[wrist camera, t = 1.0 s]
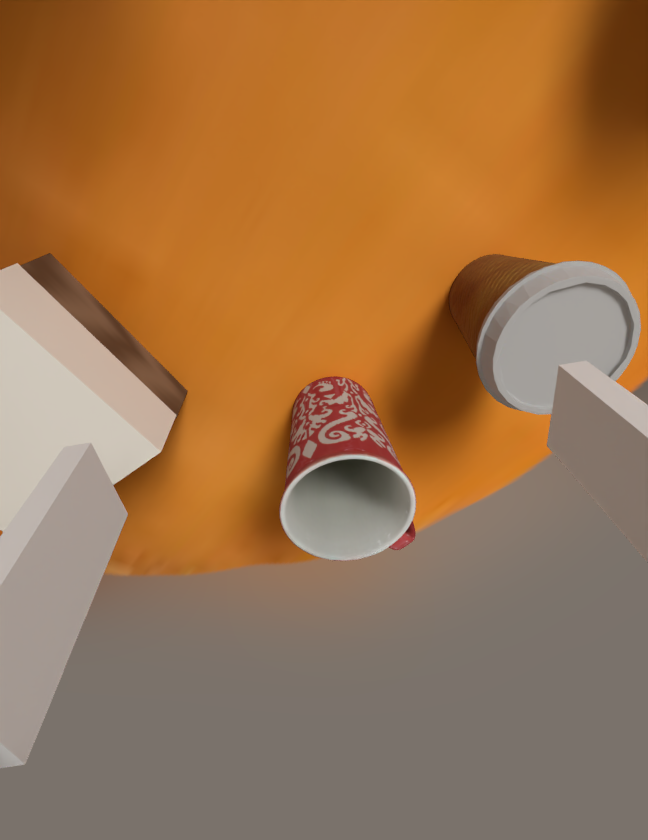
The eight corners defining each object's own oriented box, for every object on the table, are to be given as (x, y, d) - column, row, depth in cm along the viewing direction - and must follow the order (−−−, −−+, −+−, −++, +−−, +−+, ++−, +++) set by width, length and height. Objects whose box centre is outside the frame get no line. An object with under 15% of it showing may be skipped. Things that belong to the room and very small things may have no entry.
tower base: (-64, 358, 36) (-111, 386, 32) (52, 251, 33) (17, 266, 29) (78, 468, 43) (55, 503, 38) (188, 388, 39) (176, 417, 35)
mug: (260, 407, 40) (249, 510, 29) (340, 345, 38) (364, 430, 26) (345, 489, 46) (365, 603, 34) (420, 440, 43) (469, 545, 32)
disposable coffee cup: (460, 370, 40) (520, 446, 30) (407, 281, 36) (457, 333, 25) (562, 307, 38) (666, 366, 27) (519, 204, 33) (624, 227, 23)
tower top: (-112, 383, 32) (-173, 419, 28) (17, 263, 29) (-30, 282, 24) (54, 501, 38) (25, 546, 34) (176, 415, 35) (161, 451, 31)
